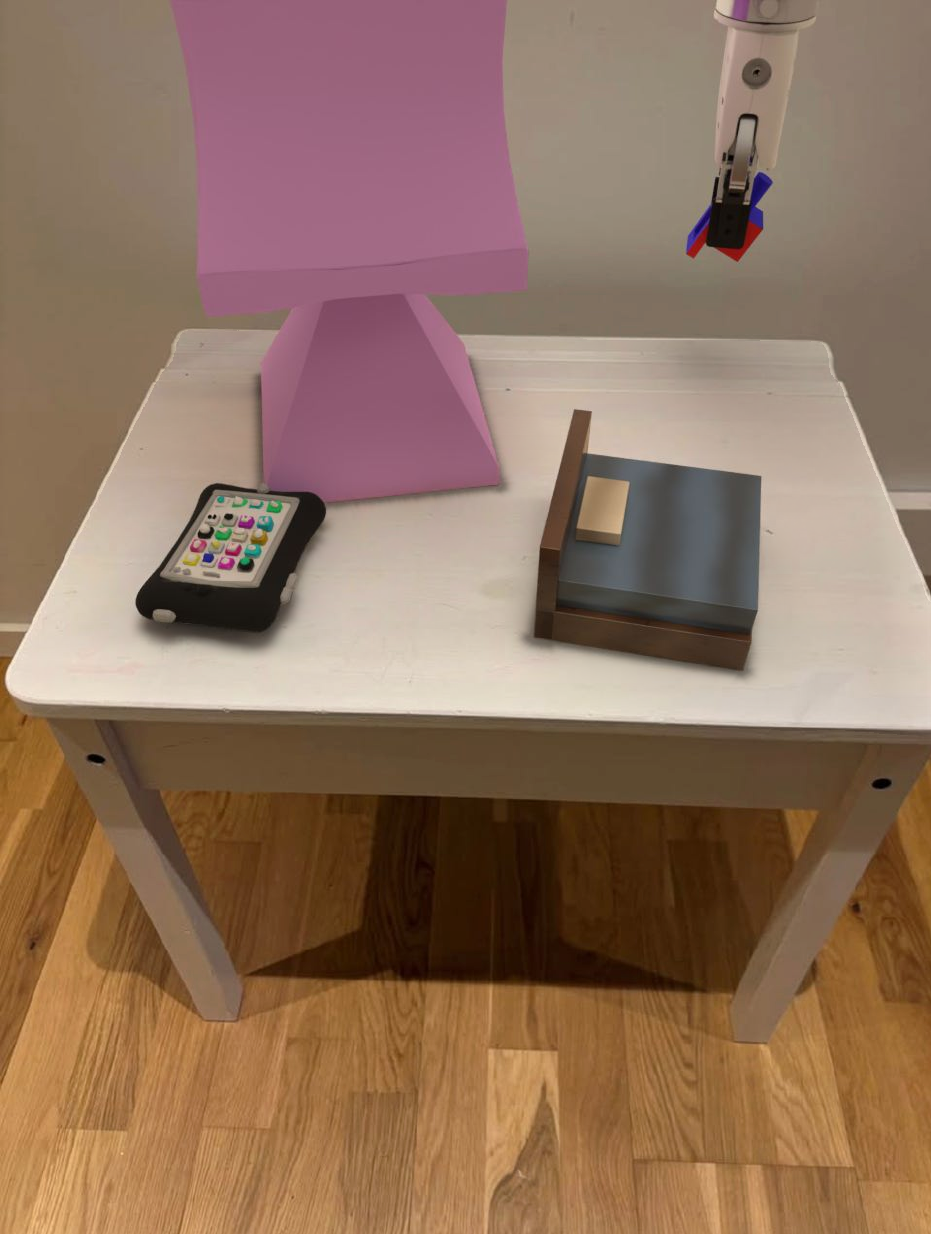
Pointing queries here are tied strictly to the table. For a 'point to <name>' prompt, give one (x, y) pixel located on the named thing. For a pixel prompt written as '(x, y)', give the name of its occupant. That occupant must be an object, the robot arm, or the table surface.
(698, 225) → the toy building block
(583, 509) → the doll bed
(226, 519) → the phone
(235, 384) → the table surface
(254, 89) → the pink table lamp
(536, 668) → the table surface
